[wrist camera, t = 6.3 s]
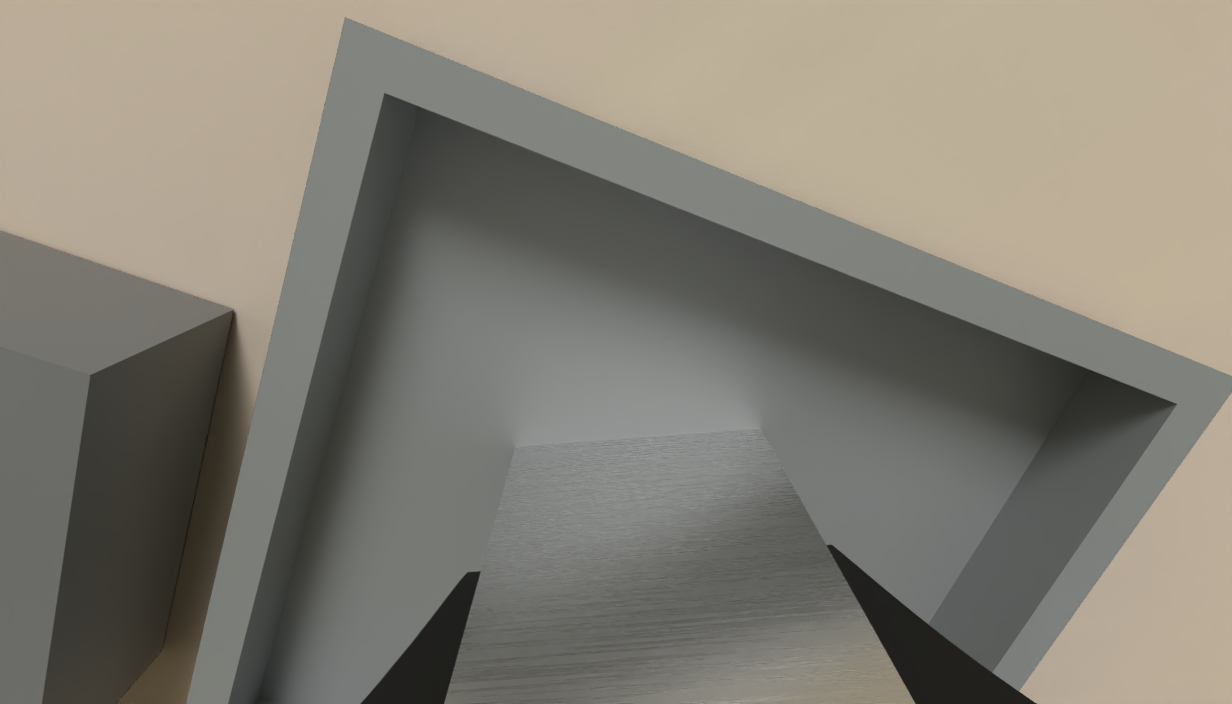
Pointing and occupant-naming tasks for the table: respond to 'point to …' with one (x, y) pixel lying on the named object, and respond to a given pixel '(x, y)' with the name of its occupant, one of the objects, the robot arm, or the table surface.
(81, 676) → the button housing
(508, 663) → the block
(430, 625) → the robot arm
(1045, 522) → the tray
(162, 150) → the table surface
